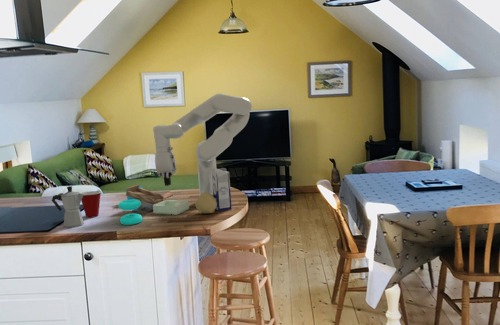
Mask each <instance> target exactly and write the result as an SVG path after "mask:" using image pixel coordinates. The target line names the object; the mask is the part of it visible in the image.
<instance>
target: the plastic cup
mask: <svg viewBox="0 0 500 325" xmlns="http://www.w3.org/2000/svg"><path fill="white" fill-rule="evenodd" d="M102 192H103V191H101V190H92V191H84V192H83V191H82V192H79V193H80V194H84V195H83V197H82V200H81V205H82V208H83V211H84V214H85V217H86V218H97V217H99V214H100V203H101V202H100V201H101V195H102Z"/></svg>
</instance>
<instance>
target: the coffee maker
mask: <svg viewBox="0 0 500 325" xmlns="http://www.w3.org/2000/svg"><path fill="white" fill-rule="evenodd" d="M66 189H67V192H65V193H62V192H60V193H58V194H55V195H53V196H52V198H51V201H52V202H51V203H53V205H55V206H56V208H57V210H58V211H59V212H61V211H62V207H63V209H64V210H65V211H64V212H63V213H64V214H63V227H64V228H67V229H69V228H76V227H81V226H83V225H84V224H85V222H84V219H83V215H82V212H81V210H80V208H81V203H82V201H81V200H82V197H83V195H84V194H80V193H81V192H79V191H73V186H72V185H70V186H66ZM56 200H57V201H61V203H62V207H61V205H60V204H58V202H57V201H56Z"/></svg>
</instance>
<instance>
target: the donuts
mask: <svg viewBox="0 0 500 325" xmlns="http://www.w3.org/2000/svg"><path fill="white" fill-rule="evenodd" d="M117 205H118V208H119V209H120V210H122V211H132V210H134V209H137V208H139V207H140V205H141V202H140V201H139V200H137V199H129V200H127V199H123V200H121V201H120V202H119V203H118V204H117ZM119 222H120V223H121V225H125V226H130V225H131V226H132V225H137V224H140V223H141V222H143V216H142V215H141V213H134V212H131V213H126V214H124V215H121V217H120V219H119Z"/></svg>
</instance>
